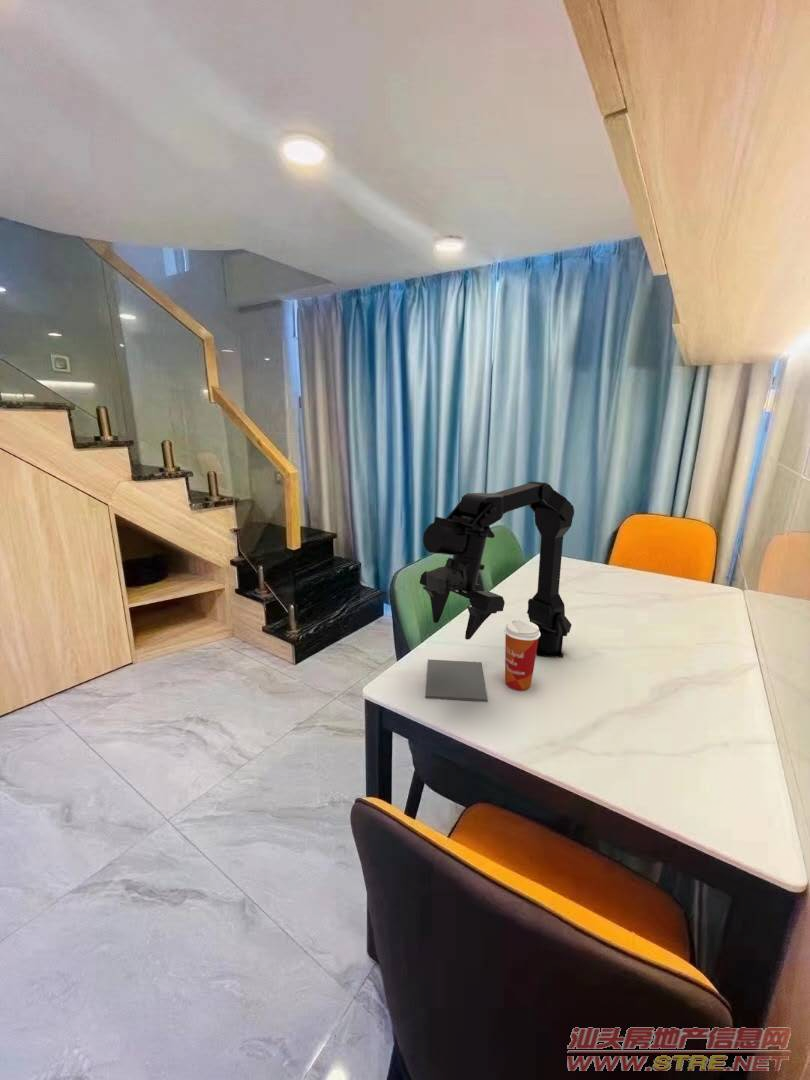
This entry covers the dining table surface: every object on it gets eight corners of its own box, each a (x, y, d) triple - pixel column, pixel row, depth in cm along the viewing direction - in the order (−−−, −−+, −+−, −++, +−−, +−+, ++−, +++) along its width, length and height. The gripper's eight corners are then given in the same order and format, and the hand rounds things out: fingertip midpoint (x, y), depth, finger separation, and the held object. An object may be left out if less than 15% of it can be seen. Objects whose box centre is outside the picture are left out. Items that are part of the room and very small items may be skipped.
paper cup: (493, 677, 101) (497, 621, 98) (522, 671, 104) (526, 616, 100) (513, 697, 94) (518, 637, 91) (543, 689, 97) (549, 631, 93)
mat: (481, 664, 107) (481, 662, 107) (487, 701, 92) (487, 699, 92) (427, 661, 108) (427, 659, 108) (425, 698, 93) (425, 695, 93)
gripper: (408, 543, 90) (392, 616, 92) (476, 566, 76) (456, 652, 78) (445, 547, 97) (431, 614, 99) (514, 569, 83) (495, 647, 85)
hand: (450, 630), depth 90 cm, fingers open, 9 cm apart
